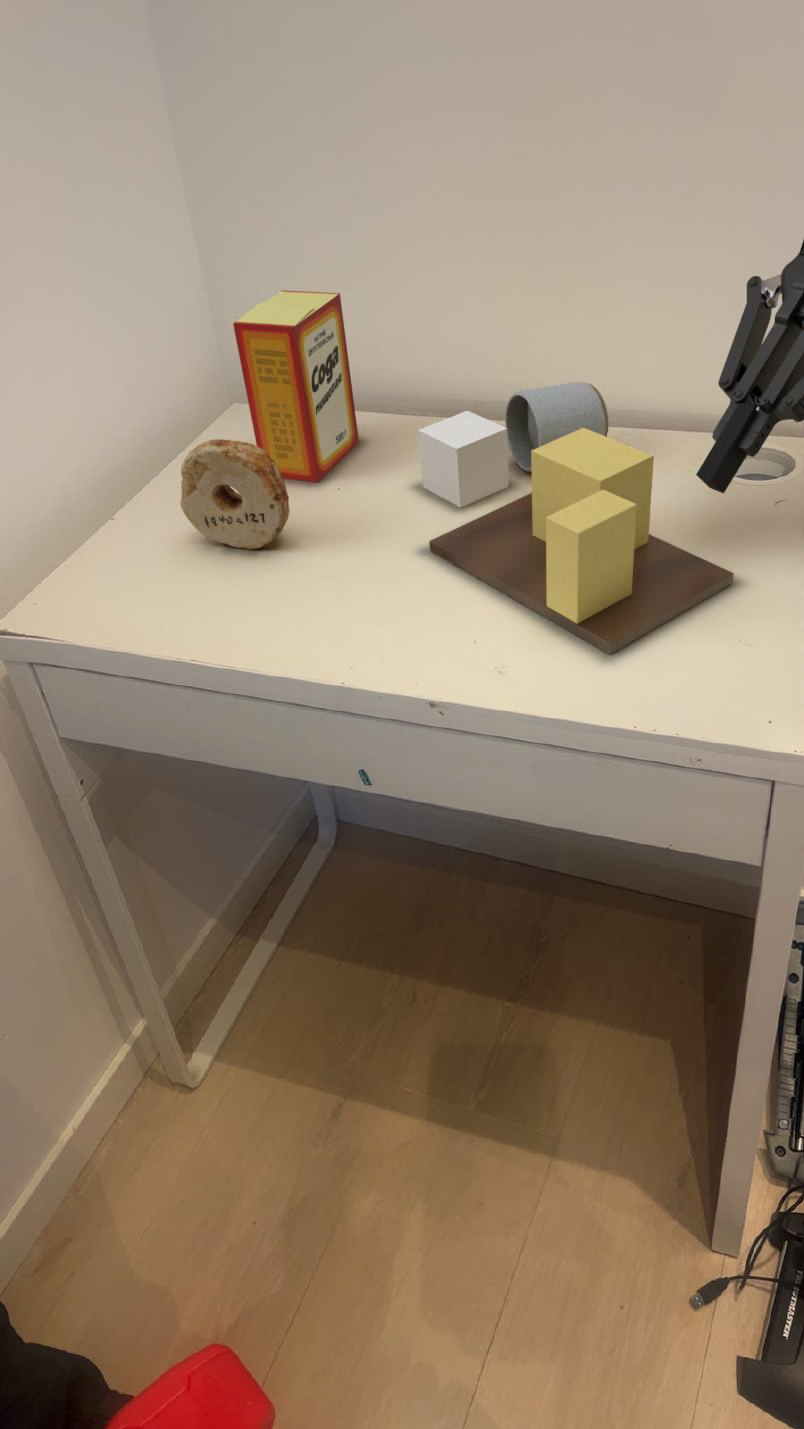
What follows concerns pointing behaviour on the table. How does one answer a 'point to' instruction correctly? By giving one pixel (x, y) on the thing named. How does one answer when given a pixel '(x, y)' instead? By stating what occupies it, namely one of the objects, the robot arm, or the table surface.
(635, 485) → the butter block
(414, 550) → the table surface
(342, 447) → the baking soda box
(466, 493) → the white cube
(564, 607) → the block
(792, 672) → the table surface
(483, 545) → the butter board
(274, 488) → the stone disc
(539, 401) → the ceramic mug
